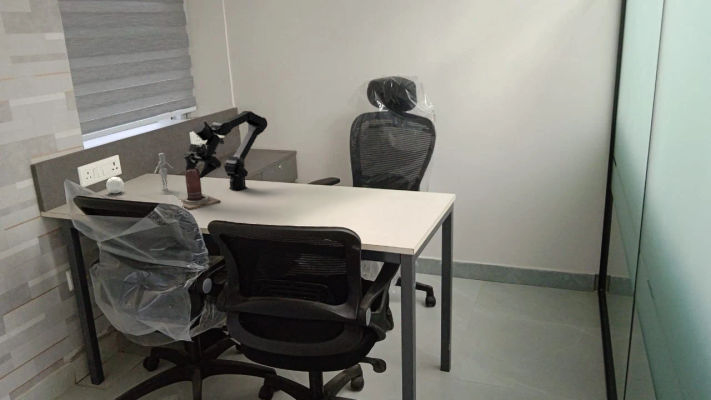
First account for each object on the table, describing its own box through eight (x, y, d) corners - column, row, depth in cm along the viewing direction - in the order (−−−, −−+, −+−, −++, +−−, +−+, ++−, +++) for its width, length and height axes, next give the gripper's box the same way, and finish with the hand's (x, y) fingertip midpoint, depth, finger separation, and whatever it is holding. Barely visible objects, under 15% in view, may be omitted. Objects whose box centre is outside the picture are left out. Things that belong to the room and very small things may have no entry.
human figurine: (172, 186, 273) (167, 150, 268) (177, 187, 272) (173, 150, 266) (153, 193, 263) (148, 155, 258) (159, 193, 261) (154, 156, 256)
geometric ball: (119, 199, 265) (116, 188, 258) (103, 192, 265) (101, 182, 259) (128, 187, 269) (126, 177, 263) (113, 181, 270) (111, 171, 264)
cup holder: (203, 195, 257) (202, 191, 256) (220, 202, 247) (220, 197, 246) (172, 202, 247) (172, 198, 247) (189, 209, 237) (188, 205, 236)
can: (195, 203, 243) (191, 171, 239) (185, 201, 246) (181, 170, 242) (205, 199, 248) (202, 168, 244) (196, 197, 251) (192, 167, 247)
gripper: (184, 134, 247) (166, 163, 242) (213, 138, 237) (195, 168, 232) (199, 148, 256) (183, 177, 250) (228, 152, 246) (212, 182, 240)
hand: (193, 176), depth 243 cm, fingers open, 9 cm apart
